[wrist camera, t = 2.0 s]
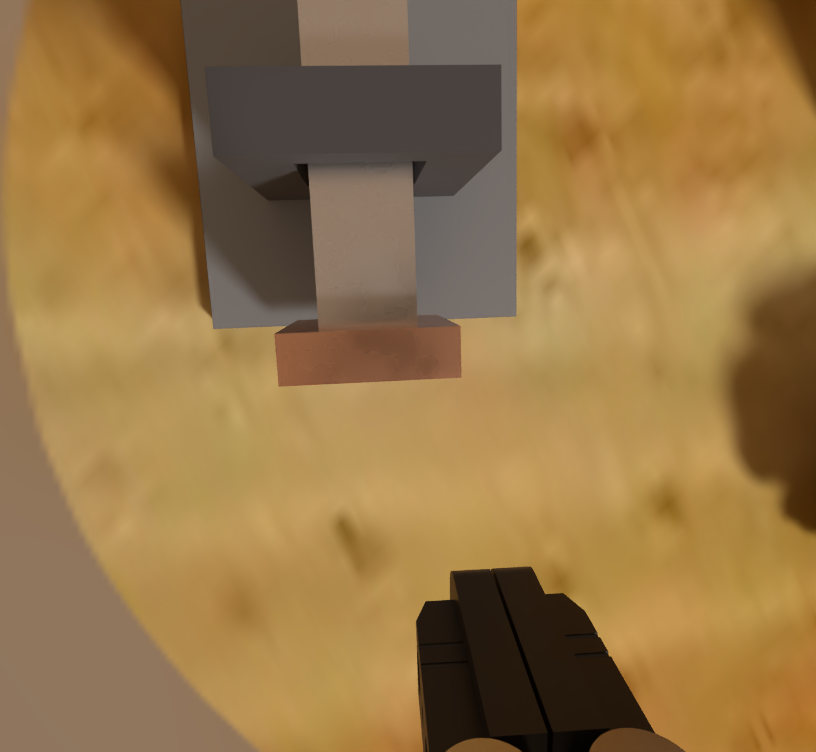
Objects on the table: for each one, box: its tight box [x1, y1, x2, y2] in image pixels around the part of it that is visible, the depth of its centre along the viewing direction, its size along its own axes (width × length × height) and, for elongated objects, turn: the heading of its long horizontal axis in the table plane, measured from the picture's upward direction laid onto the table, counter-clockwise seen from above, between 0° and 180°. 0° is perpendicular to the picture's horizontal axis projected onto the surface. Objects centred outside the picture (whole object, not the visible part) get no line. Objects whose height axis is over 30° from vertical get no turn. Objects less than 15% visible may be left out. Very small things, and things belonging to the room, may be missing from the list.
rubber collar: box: [205, 64, 502, 201], centre depth 23 cm, size 10×3×10 cm, turn 92°
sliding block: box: [275, 0, 461, 386], centre depth 23 cm, size 7×14×7 cm, turn 2°
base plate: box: [180, 0, 517, 329], centre depth 29 cm, size 17×17×2 cm
